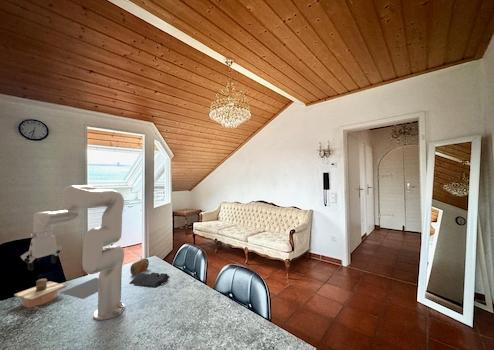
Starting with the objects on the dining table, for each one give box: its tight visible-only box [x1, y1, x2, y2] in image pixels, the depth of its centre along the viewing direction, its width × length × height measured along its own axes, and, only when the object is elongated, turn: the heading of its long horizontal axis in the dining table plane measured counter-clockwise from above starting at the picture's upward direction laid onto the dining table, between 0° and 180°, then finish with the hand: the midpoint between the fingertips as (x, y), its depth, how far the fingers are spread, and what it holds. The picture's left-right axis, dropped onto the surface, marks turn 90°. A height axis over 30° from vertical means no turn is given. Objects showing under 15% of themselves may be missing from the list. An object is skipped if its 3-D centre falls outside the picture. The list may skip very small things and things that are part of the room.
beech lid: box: [13, 277, 67, 301], centre depth 112 cm, size 15×15×6 cm
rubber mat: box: [59, 277, 99, 300], centre depth 125 cm, size 20×20×1 cm
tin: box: [129, 258, 150, 276], centre depth 147 cm, size 15×3×8 cm, turn 164°
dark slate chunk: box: [128, 272, 170, 289], centre depth 134 cm, size 15×22×5 cm
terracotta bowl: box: [22, 290, 58, 308], centre depth 112 cm, size 12×12×5 cm
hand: (42, 266), depth 113 cm, fingers open, 9 cm apart
